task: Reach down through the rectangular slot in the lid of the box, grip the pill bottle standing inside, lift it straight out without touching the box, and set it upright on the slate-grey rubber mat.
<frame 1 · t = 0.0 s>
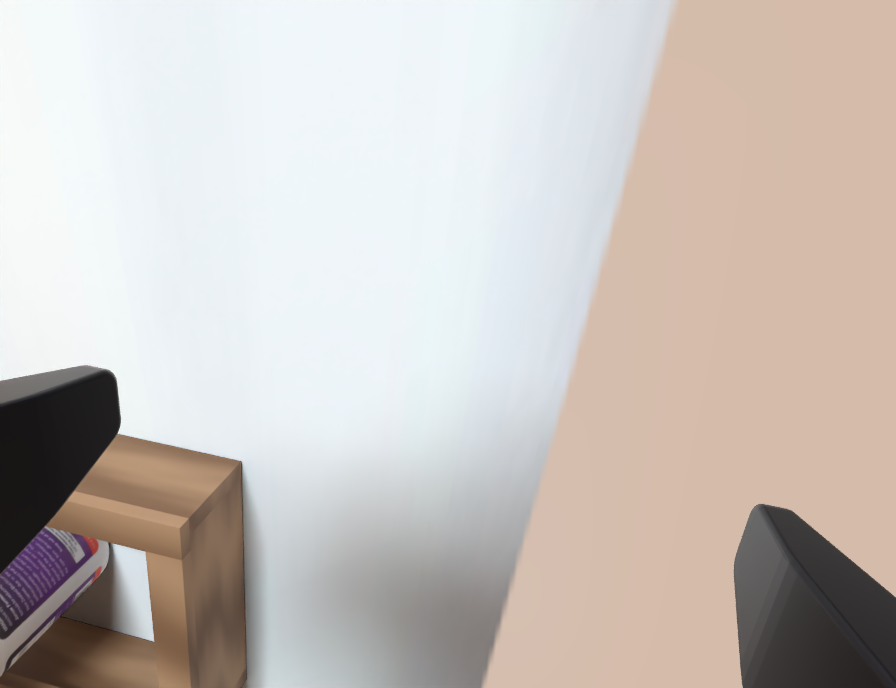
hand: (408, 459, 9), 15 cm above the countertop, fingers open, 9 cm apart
slot box: (63, 533, 33), on the countertop
pill bottle: (66, 530, 33), resting in slot box
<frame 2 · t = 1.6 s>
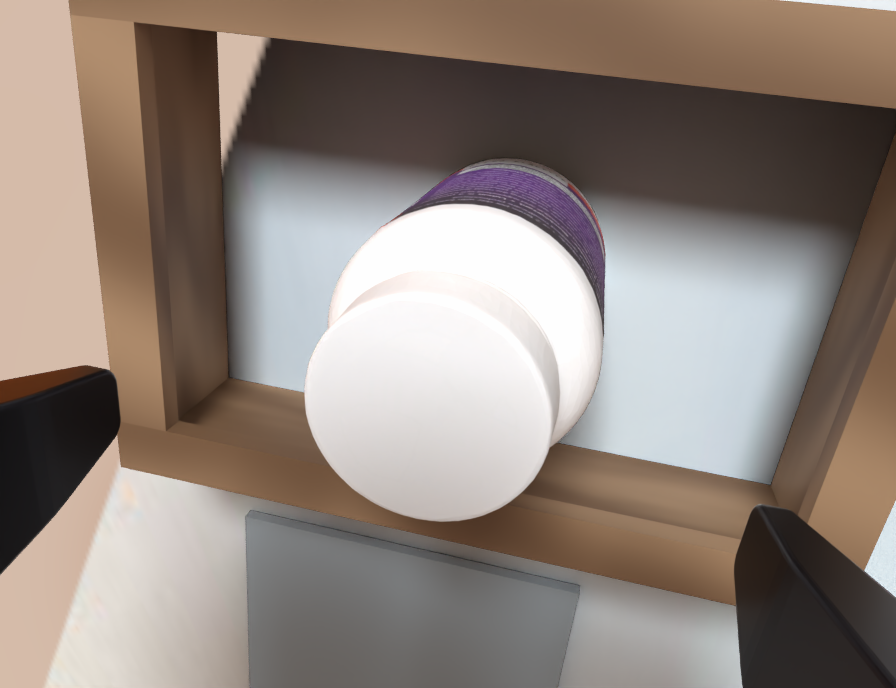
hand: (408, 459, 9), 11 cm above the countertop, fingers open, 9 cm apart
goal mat: (396, 668, 26), on the countertop
slot box: (507, 254, 19), on the countertop
pill bottle: (508, 252, 19), resting in slot box
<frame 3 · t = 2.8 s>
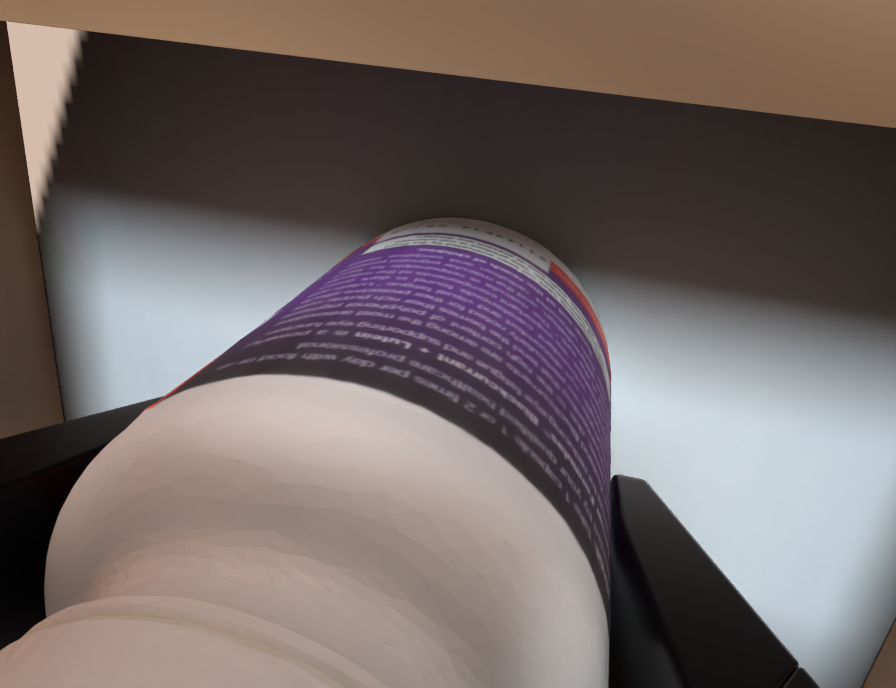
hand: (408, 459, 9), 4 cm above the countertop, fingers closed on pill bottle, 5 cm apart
slot box: (459, 358, 13), on the countertop
pill bottle: (462, 354, 13), resting in slot box, touching gripper
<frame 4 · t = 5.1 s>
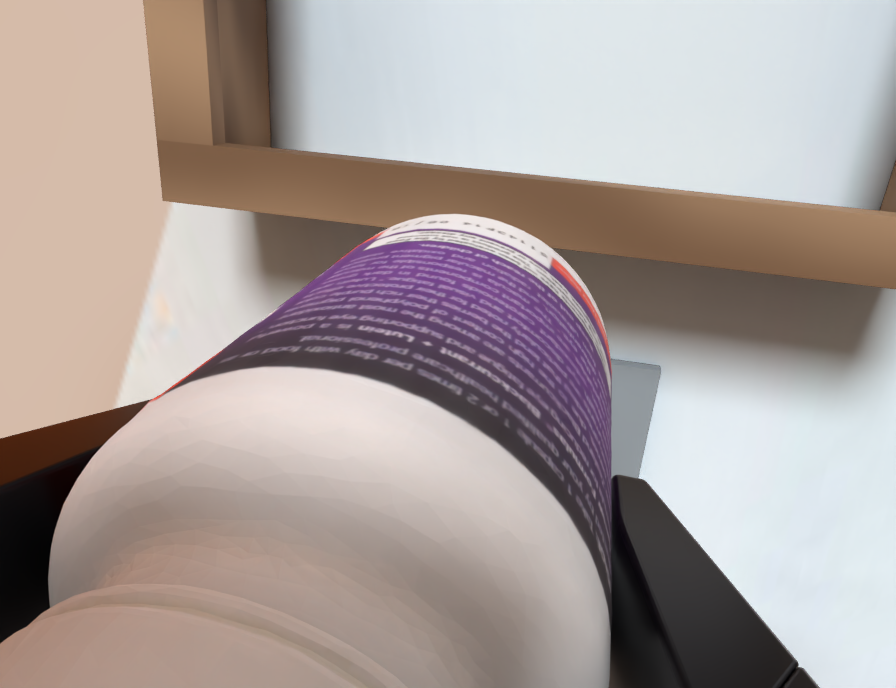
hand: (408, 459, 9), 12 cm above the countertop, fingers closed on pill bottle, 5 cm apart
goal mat: (456, 491, 24), on the countertop
pill bottle: (463, 350, 13), point 9 cm above the countertop, touching gripper
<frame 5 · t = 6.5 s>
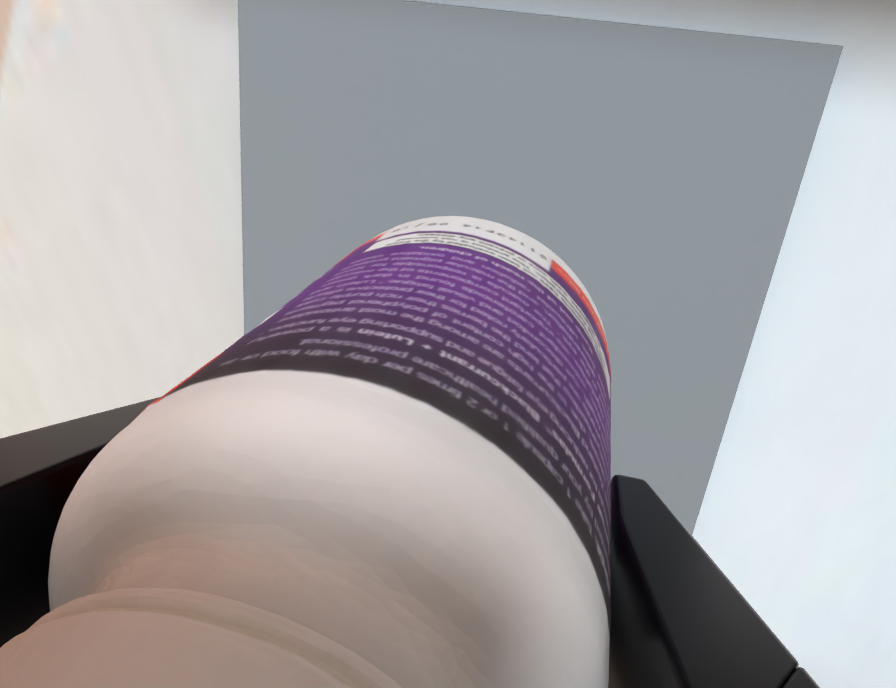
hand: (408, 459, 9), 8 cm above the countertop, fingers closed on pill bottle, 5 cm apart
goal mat: (485, 292, 16), on the countertop
pill bottle: (462, 352, 13), point 4 cm above the countertop, touching gripper
when the fingers open (5 cm above the countertop, at t = 7.4 s): pill bottle stays where it is, resting on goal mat.
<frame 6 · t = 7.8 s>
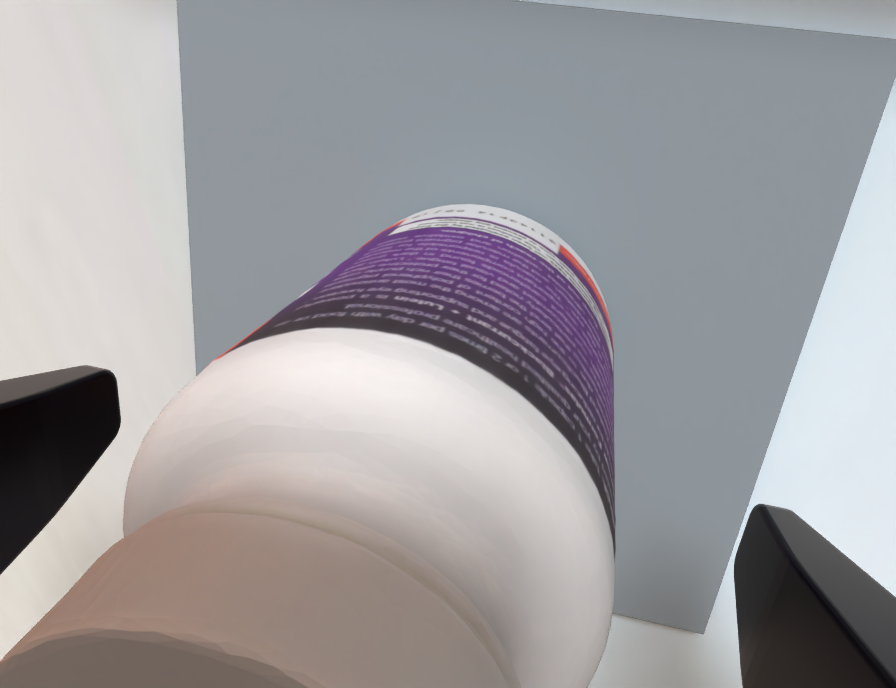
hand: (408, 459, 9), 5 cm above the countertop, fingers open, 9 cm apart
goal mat: (472, 330, 14), on the countertop
pill bottle: (474, 332, 14), resting on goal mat
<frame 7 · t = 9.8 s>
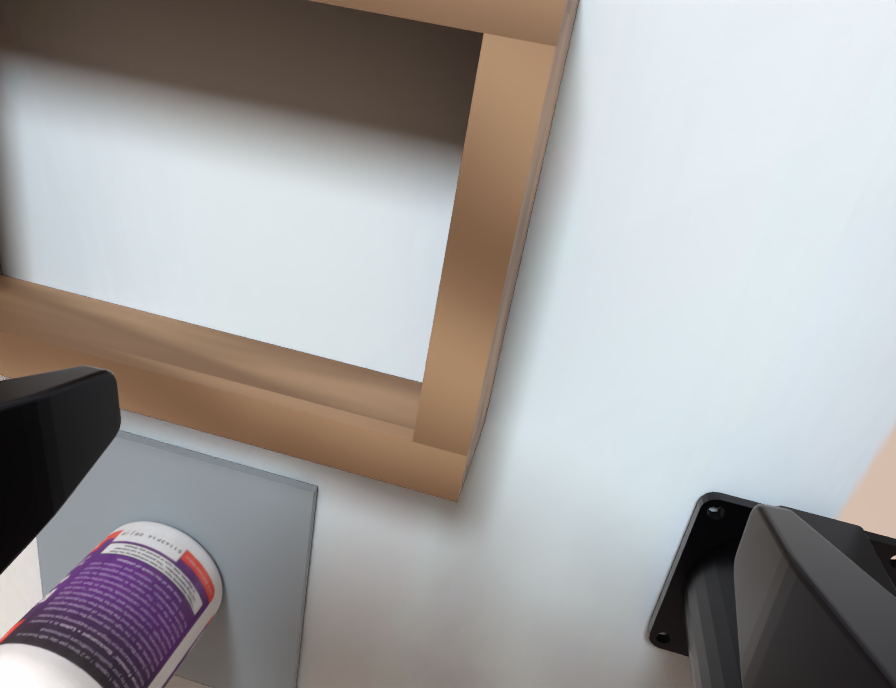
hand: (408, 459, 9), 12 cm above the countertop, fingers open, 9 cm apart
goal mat: (170, 564, 28), on the countertop
slot box: (228, 166, 21), on the countertop
pill bottle: (169, 567, 28), resting on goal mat
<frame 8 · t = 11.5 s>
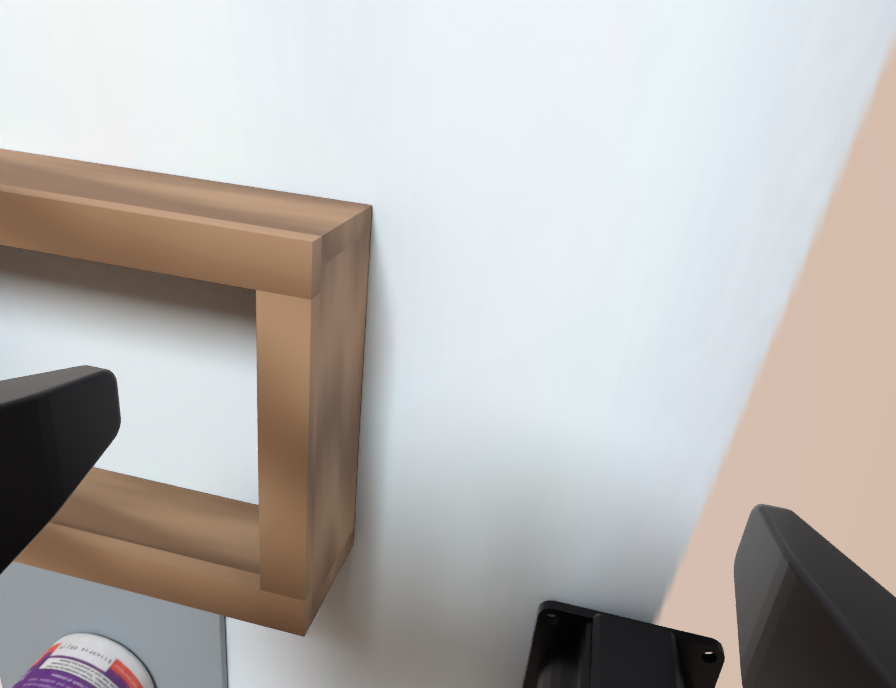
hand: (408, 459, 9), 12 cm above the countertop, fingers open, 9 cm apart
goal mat: (110, 666, 32), on the countertop
slot box: (112, 344, 25), on the countertop
pill bottle: (108, 669, 32), resting on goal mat
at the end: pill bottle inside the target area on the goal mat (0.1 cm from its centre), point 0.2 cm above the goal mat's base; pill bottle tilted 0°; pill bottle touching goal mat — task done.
